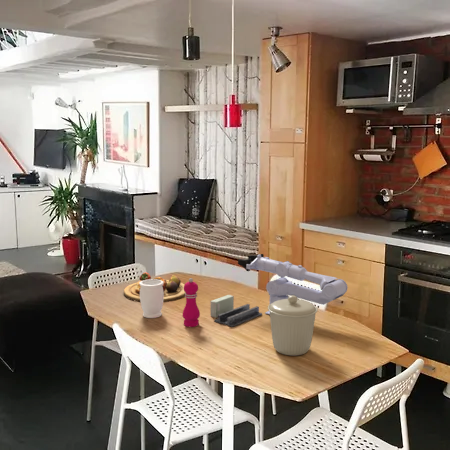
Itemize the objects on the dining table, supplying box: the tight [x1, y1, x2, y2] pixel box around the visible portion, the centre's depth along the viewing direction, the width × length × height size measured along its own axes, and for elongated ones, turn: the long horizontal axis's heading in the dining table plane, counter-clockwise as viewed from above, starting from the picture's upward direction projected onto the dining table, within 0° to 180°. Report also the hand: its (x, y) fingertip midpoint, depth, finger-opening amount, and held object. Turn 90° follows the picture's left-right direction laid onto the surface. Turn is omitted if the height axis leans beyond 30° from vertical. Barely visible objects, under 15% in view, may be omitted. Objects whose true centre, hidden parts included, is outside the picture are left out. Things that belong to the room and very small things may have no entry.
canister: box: [267, 295, 319, 357], centre depth 205 cm, size 18×18×21 cm
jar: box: [140, 278, 164, 319], centre depth 244 cm, size 11×10×15 cm
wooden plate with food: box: [123, 271, 186, 303], centre depth 278 cm, size 32×32×8 cm
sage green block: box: [210, 294, 235, 319], centre depth 247 cm, size 12×4×7 cm, turn 139°
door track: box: [214, 303, 263, 328], centre depth 241 cm, size 20×10×3 cm, turn 139°
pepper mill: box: [182, 277, 201, 328], centre depth 232 cm, size 7×7×20 cm
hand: (243, 259), depth 256 cm, fingers open, 7 cm apart
